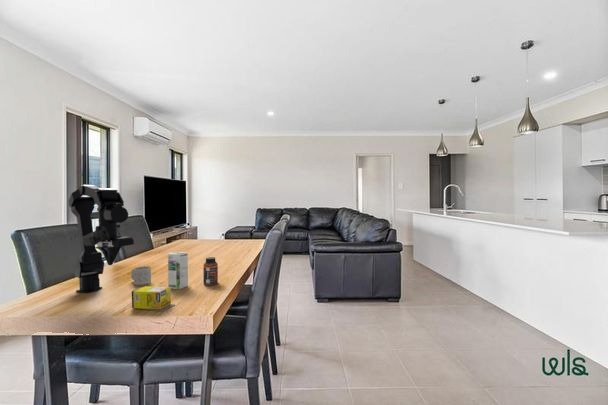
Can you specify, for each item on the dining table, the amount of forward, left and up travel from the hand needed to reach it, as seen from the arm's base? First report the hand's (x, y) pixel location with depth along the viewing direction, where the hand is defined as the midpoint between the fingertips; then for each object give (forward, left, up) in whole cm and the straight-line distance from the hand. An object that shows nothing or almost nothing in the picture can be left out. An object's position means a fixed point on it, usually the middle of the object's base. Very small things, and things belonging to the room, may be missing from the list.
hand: (110, 265), depth 116 cm
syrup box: (+15, +19, -13) cm, 28 cm away
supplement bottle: (+26, +26, -13) cm, 39 cm away
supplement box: (+14, -4, -10) cm, 18 cm away
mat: (+21, -3, -13) cm, 25 cm away
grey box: (-6, +22, -13) cm, 27 cm away
